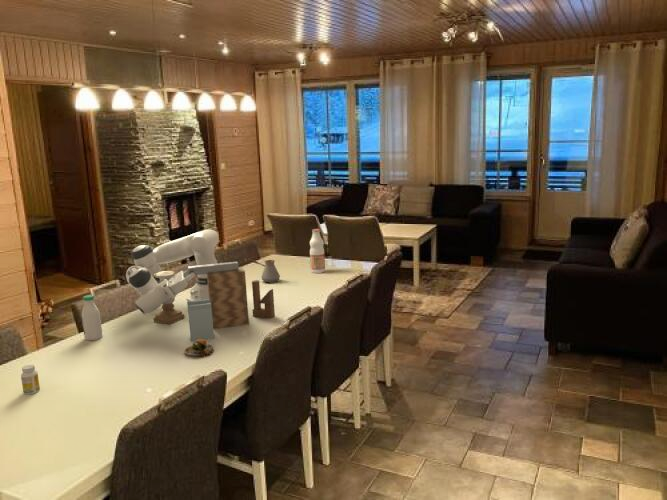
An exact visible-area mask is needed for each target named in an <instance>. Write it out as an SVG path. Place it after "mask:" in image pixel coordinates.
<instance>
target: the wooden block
mask: <svg viewBox="0 0 667 500" xmlns="http://www.w3.org/2000/svg"><path fill="white" fill-rule="evenodd" d="M260 287H261V286H260V279H259V280H257V279H255V280H251V288H252V299H253V300H252V301H253V308H252V317H256V318H257V317H258V318H266V319H272V318H274V317H275V316H276V314H275V313H276V312H275V299H274V288H271V289H269V291H268V292H267V293H265V295H264V296H263V297H261V288H260ZM262 304H263V305H264V308H263V307H262Z"/></svg>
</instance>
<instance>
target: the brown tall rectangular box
mask: <svg viewBox="0 0 667 500" xmlns="http://www.w3.org/2000/svg"><path fill="white" fill-rule="evenodd" d="M238 267H239V270H238V271H228V272H219V273H210V274H207V282H208V293H209V299H210V303H211V309H212V320H213V330H216V329H223V328H230V327H238V326H244V325H246V326H247V325H249V324H250V320H249V307H248V294H247V280H246V270H245V269H244V268H243V266H238Z"/></svg>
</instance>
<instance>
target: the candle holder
mask: <svg viewBox="0 0 667 500" xmlns="http://www.w3.org/2000/svg"><path fill="white" fill-rule="evenodd" d="M175 275H176V271H174V270H165V271H164V270H162V272H157V273H155V274H154V277H157V278H159V279H160V282H162V281H164V280H165V279H167V280H168V281H169V280H170V279H171V278H172V277H173V276H175ZM175 299H176V297H175V298H173V299H170V300H168V301H166V302H164V303H163V304H162V305H161V309H162V310H161V311H160V312H159V313H157V314H155V315H154V318H152V319H153V322H154V323H157V322H159V323H160V324H166V325H172V324H174V323H177V322H178V321H180V319H181V320H183V319H184V317H185V316H186V315H185V314H184V313H183V312H182V311H181V310H177V309H175V308H174V307H175V304H174V302H175V301H176V300H175ZM182 318H183V319H182ZM185 318H186V317H185ZM159 323H158V324H159Z"/></svg>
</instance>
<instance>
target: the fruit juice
mask: <svg viewBox="0 0 667 500" xmlns="http://www.w3.org/2000/svg"><path fill="white" fill-rule="evenodd" d="M311 232H312V234H311V238H310V240H309V246H310V249H309V260H310V263H309V264H310V272H311V273H312V274H321V273H325V272H326V260H325V259H326V257H325V249H324V244H325V243H324V240H323V238H322V237H321V234H320V232H321V230H320V228H313V229H312V230H311Z"/></svg>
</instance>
